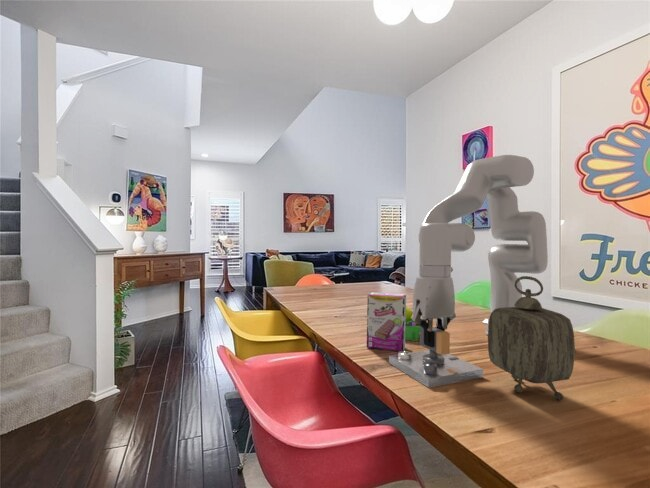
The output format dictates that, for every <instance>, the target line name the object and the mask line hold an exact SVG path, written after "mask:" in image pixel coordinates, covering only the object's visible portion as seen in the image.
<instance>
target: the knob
mask: <svg viewBox="0 0 650 488" xmlns="http://www.w3.org/2000/svg"><path fill="white" fill-rule="evenodd" d="M432 331H434V347H432V348H431V347H429V346H427V345H425V344H424V329H422V327H421V326H420V334H419V346H422V347H424V348H426V349H427V350H430V352H429V354H426V355H423V361H424V362H432V363H435V364H437V365H439V364H443V363H444V360H445V359H444V357H442V356H440V355H445V354H450V351H451V350H450V345H451V344H450V342H451V340H450V339H451V337H450V335H451V334H450V332H448V331H446V330H445V331H443V330H440V329H437V328H435V326H434V327H433V328H432ZM438 354H440V355H438Z"/></svg>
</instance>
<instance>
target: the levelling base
mask: <svg viewBox="0 0 650 488" xmlns="http://www.w3.org/2000/svg"><path fill="white" fill-rule="evenodd" d="M429 352H430V349H426V350H420V351H412V352H411V351H408V350H404V351H400V352H399V351H397V354H391V355H388V363H389V365H391V366H393V367H395V368H397V369H398V370H399V371H401V372H402V373H404V374H406V375H407V376H409V377H410V378H412V379H414V380H416V381H417V382H418V383H419V384H422V385H423V386H424V387H427V388H429V389H430V388H435V387H440V386H445V385H451V384H456V383H462V382H466V381H471V380H476V379H483V378H484V368H482V367H480V366H477V365H475V364H473V363H471V362H469V361H466V360H464V359H462V358H459V357H457V356H454V355H453V354H450V353H449V354H445V355H440V354H438V355H440V356H442V357H444V359H445V360H444V363H443V364H439V365H437V364H435V363H432V362H424V361H423V355H426V354H429Z"/></svg>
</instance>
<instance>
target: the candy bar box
mask: <svg viewBox="0 0 650 488" xmlns="http://www.w3.org/2000/svg"><path fill="white" fill-rule="evenodd" d="M406 307H407V294H403V293H402V294H401V293H400V294H399V293H388V292H376V291H375V292H373V291H372V292H370V293H368V294H367V313H366V314H367V316H366V321H367V323H366V348H367V349H377V350H384V351H390V352H391V351H393V352H400V351H405V348H406V340H405V325H406Z"/></svg>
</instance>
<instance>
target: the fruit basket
mask: <svg viewBox="0 0 650 488" xmlns="http://www.w3.org/2000/svg"><path fill="white" fill-rule="evenodd" d="M413 315H414V314H413V310H412V309H410V307H407V306H406V325H405V341H415V342H417V341H419V339H420V325H419V323H416V322H414V321H413V320H412V318H413Z"/></svg>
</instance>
